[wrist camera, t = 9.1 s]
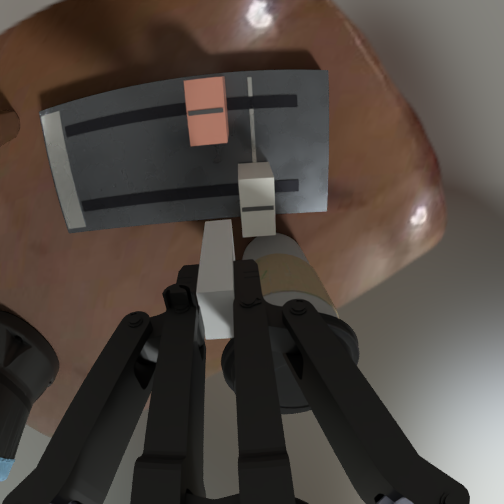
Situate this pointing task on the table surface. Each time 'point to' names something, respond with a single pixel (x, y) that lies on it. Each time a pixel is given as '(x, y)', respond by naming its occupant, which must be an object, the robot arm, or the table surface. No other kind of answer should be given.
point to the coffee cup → (278, 293)
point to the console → (187, 150)
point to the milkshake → (8, 126)
